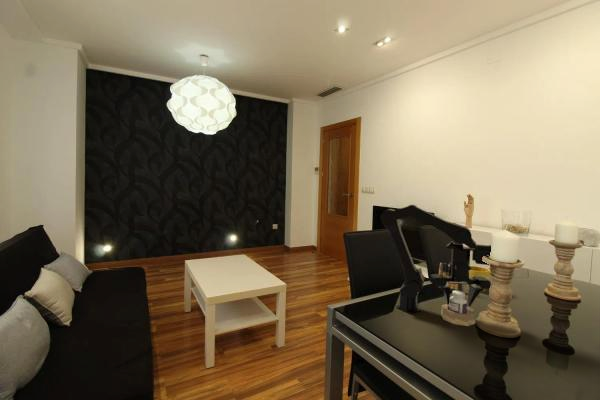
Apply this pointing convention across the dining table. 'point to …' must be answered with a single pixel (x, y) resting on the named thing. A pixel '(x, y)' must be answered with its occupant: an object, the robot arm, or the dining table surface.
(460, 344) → the dining table surface
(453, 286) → the ammunition clip
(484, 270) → the plant pot
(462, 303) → the pill bottle
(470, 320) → the beige ring washer
